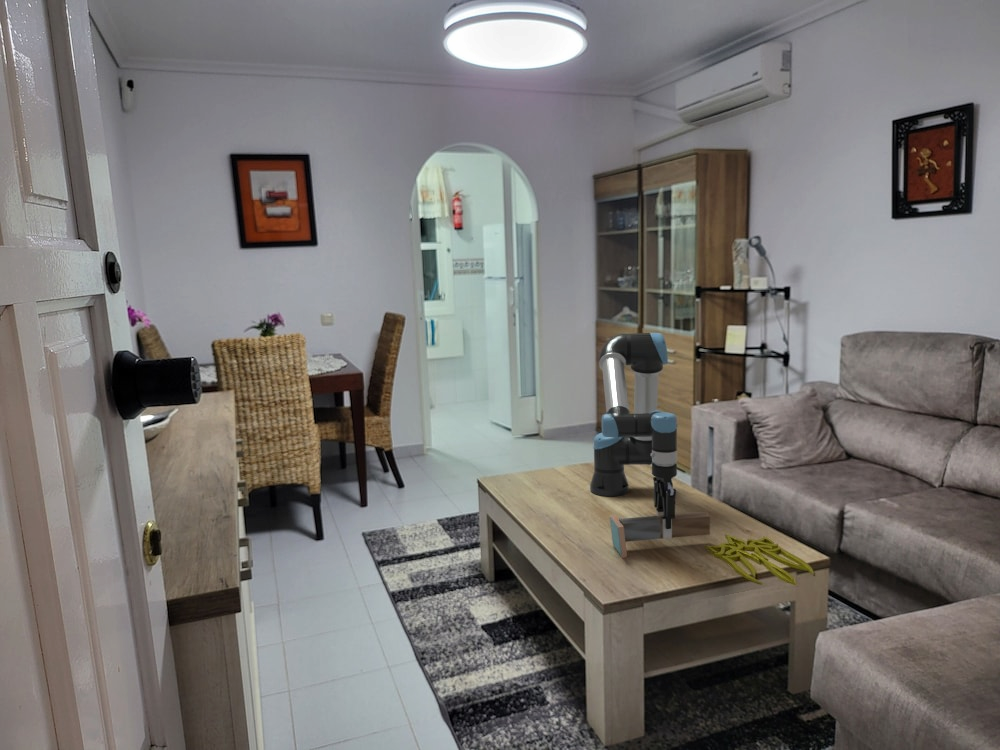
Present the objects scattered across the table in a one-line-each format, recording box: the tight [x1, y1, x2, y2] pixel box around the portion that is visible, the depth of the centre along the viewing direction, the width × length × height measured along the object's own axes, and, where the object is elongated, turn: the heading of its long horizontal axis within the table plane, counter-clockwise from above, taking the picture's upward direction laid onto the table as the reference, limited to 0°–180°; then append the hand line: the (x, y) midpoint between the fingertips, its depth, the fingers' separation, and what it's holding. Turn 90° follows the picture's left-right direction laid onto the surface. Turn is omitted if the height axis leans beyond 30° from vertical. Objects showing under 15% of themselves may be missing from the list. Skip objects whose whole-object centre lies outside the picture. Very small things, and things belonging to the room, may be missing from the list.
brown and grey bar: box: [618, 511, 711, 543], centre depth 212 cm, size 4×28×6 cm, turn 96°
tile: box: [609, 514, 628, 559], centre depth 210 cm, size 10×2×10 cm, turn 7°
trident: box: [705, 533, 815, 586], centre depth 201 cm, size 22×2×35 cm
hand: (664, 534), depth 212 cm, fingers closed on brown and grey bar, 4 cm apart
